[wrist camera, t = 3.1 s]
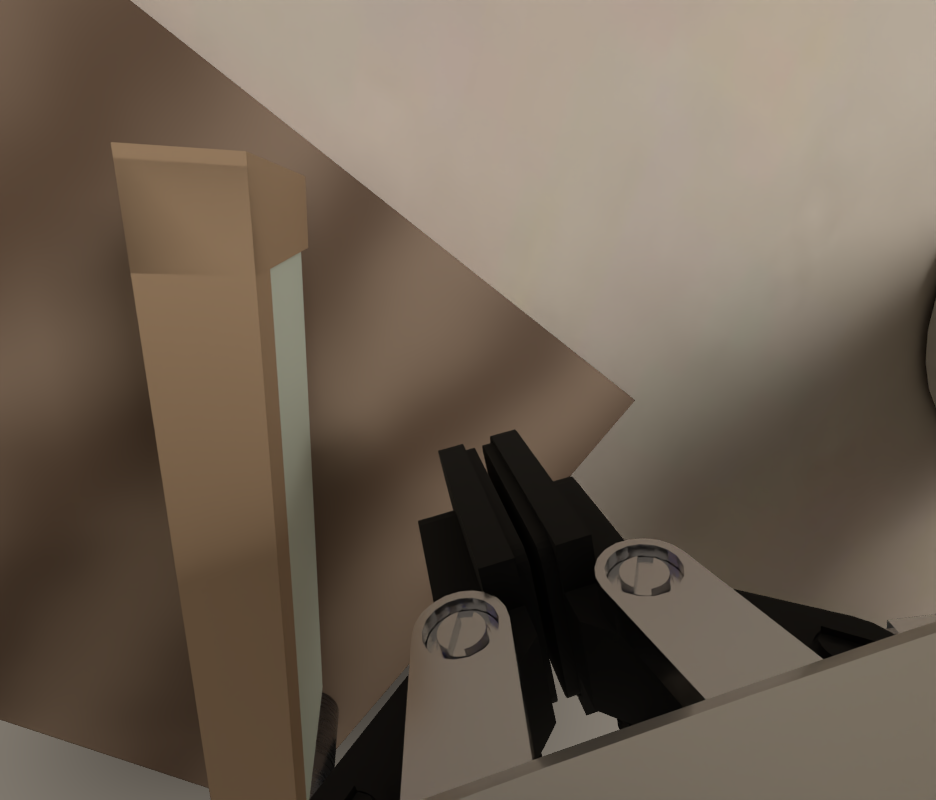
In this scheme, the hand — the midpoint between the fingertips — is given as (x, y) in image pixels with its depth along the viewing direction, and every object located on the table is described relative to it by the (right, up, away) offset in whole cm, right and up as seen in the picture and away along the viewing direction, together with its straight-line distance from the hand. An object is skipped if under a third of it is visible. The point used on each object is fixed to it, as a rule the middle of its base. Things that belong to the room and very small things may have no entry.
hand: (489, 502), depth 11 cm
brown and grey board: (-6, 0, +6) cm, 8 cm away
